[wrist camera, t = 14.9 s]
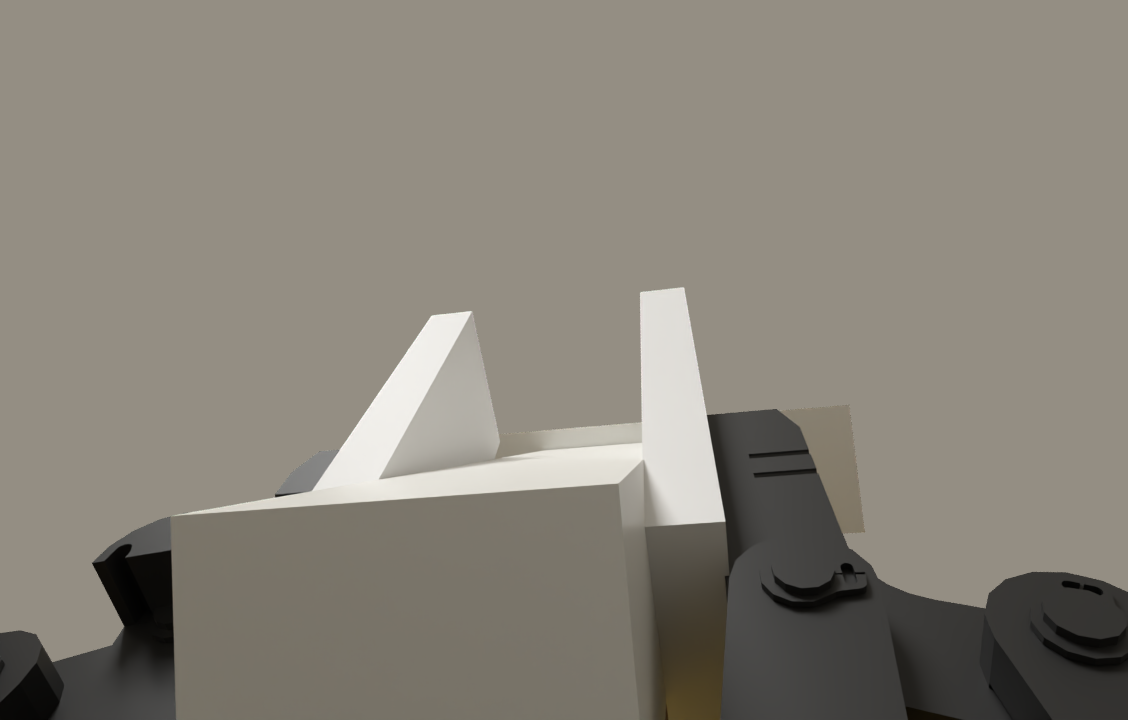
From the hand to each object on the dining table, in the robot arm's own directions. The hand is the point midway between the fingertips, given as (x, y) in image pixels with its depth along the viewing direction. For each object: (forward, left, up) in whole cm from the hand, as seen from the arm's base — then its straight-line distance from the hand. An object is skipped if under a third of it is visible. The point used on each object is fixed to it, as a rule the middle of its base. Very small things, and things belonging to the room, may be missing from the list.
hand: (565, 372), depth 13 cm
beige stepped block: (0, +2, -4) cm, 5 cm away
